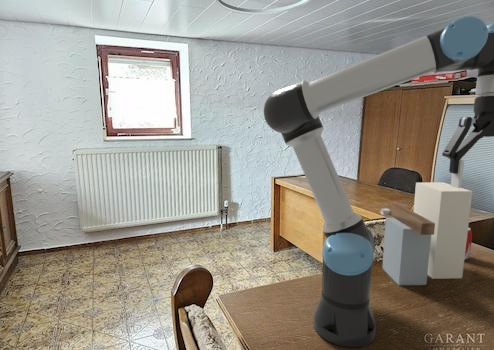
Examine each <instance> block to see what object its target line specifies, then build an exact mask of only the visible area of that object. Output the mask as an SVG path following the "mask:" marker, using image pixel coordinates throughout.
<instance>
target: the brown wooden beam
mask: <svg viewBox="0 0 494 350" xmlns="http://www.w3.org/2000/svg"><path fill="white" fill-rule="evenodd" d="M413 211H414V210H411V209H409V208H407V207H405V206H403V205H402V204H399V203H387V208H380V212H379V213H380V215H382V216H390V217H394V218H395V219H397V220H398V221H400V222H401V223H403V224H405V225H406V226H408V227H409V228H411V229H412V230H414V231H416V232H417V233H419V234H420V235H434V230H435V223H434V222H432V221H430V220H428V219H426V218H424V217H422V216H420V215H419V214H417V213H415V212H413Z"/></svg>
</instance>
